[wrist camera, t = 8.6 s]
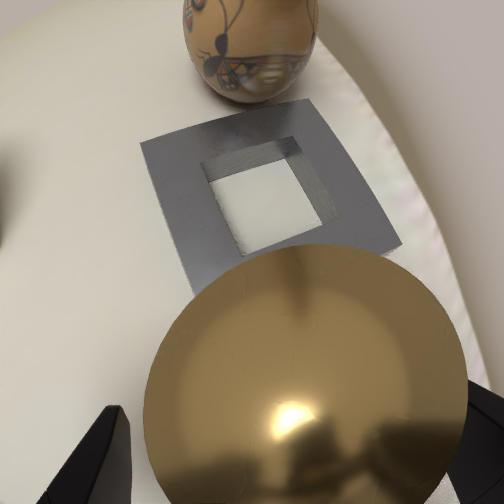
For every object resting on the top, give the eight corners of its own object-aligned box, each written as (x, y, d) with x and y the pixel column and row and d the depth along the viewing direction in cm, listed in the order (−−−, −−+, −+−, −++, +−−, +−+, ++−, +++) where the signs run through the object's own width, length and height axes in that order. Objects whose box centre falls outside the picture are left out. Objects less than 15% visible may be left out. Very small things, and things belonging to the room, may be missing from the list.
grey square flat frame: (383, 257, 20) (402, 244, 18) (211, 336, 17) (211, 332, 15) (300, 120, 23) (308, 98, 21) (146, 165, 20) (140, 143, 18)
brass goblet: (321, 398, 17) (496, 433, 5) (228, 449, 15) (257, 600, 3) (272, 309, 18) (379, 196, 6) (176, 356, 17) (82, 338, 5)
